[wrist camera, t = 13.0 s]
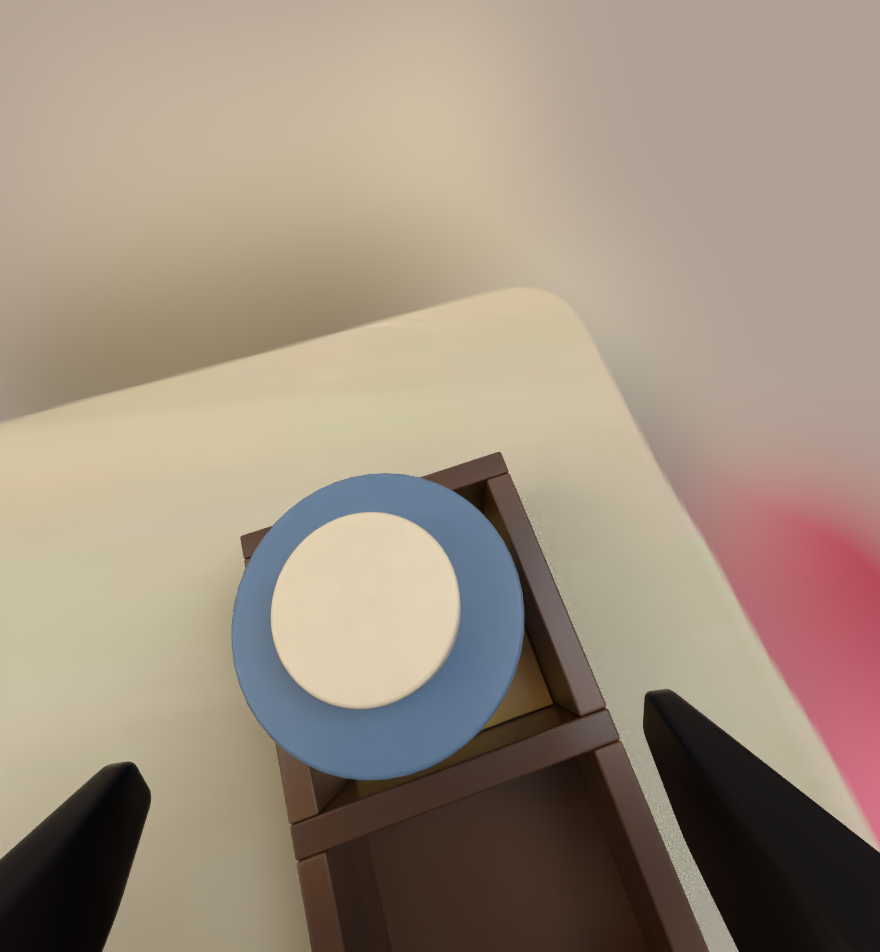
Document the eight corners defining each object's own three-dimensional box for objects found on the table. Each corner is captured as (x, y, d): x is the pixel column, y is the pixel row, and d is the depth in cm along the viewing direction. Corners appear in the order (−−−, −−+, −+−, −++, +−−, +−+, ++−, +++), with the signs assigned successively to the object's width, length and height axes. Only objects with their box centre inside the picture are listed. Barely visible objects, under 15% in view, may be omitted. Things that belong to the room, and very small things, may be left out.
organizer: (699, 1014, 14) (802, 1173, 9) (409, 1136, 13) (380, 1364, 9) (493, 494, 20) (500, 450, 15) (289, 562, 19) (239, 535, 15)
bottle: (496, 716, 16) (541, 809, 6) (346, 711, 16) (163, 791, 7) (493, 564, 18) (525, 450, 8) (358, 562, 18) (232, 450, 8)
